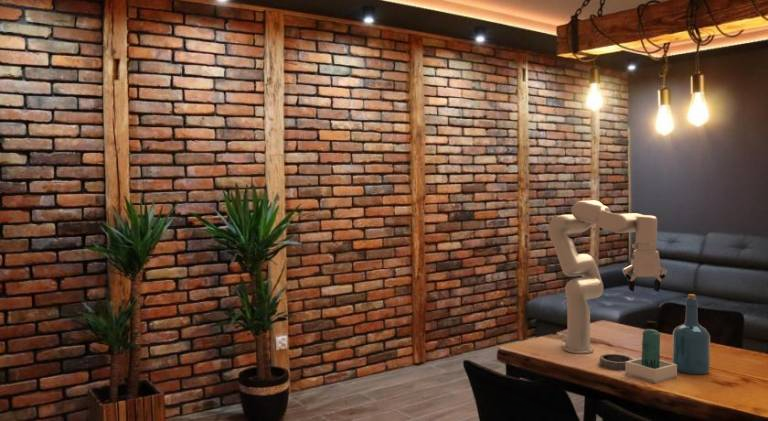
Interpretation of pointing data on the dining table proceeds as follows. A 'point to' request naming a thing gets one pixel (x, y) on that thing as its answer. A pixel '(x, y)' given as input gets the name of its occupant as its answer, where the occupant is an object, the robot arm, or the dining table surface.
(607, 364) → the holder ring
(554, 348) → the dining table surface
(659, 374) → the bin
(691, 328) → the wine bottle
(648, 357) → the beverage bottle
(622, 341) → the dining table surface
